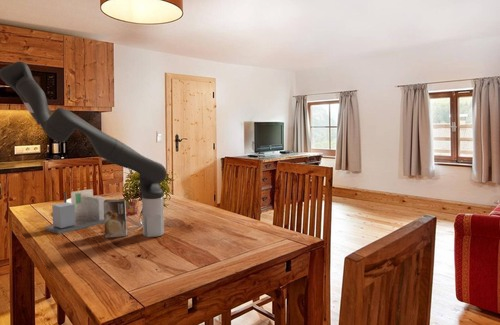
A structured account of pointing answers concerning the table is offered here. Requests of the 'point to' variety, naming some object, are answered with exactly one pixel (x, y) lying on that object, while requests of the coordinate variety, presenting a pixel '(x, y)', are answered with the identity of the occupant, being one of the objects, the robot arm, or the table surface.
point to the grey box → (63, 214)
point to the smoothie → (132, 207)
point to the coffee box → (115, 218)
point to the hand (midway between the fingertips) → (55, 134)
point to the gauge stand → (83, 211)
